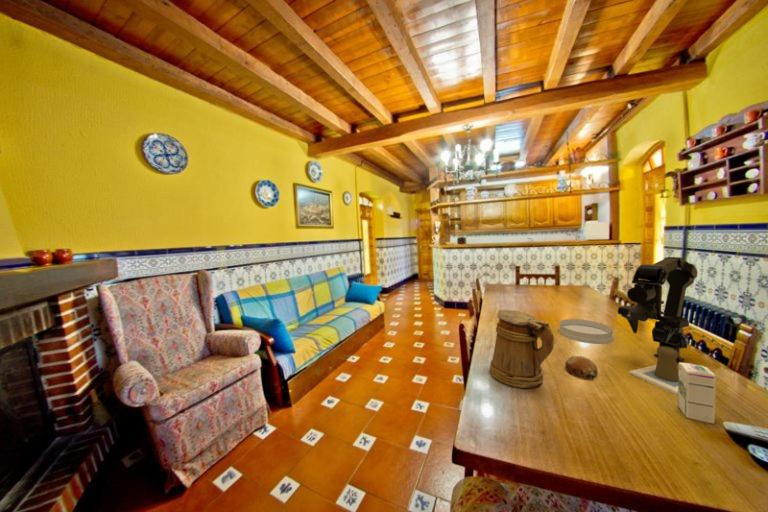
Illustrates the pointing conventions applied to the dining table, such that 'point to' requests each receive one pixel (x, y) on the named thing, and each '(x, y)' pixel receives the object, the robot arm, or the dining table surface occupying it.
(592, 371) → the bread roll
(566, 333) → the dish
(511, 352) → the tankard
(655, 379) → the plate
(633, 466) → the dining table surface
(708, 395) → the syrup box
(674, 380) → the cork
